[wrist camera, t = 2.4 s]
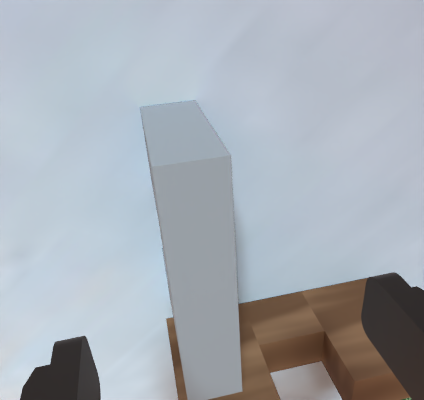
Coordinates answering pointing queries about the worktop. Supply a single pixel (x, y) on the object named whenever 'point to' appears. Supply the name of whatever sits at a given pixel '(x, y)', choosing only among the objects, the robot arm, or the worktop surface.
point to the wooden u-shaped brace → (306, 344)
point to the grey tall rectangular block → (197, 243)
